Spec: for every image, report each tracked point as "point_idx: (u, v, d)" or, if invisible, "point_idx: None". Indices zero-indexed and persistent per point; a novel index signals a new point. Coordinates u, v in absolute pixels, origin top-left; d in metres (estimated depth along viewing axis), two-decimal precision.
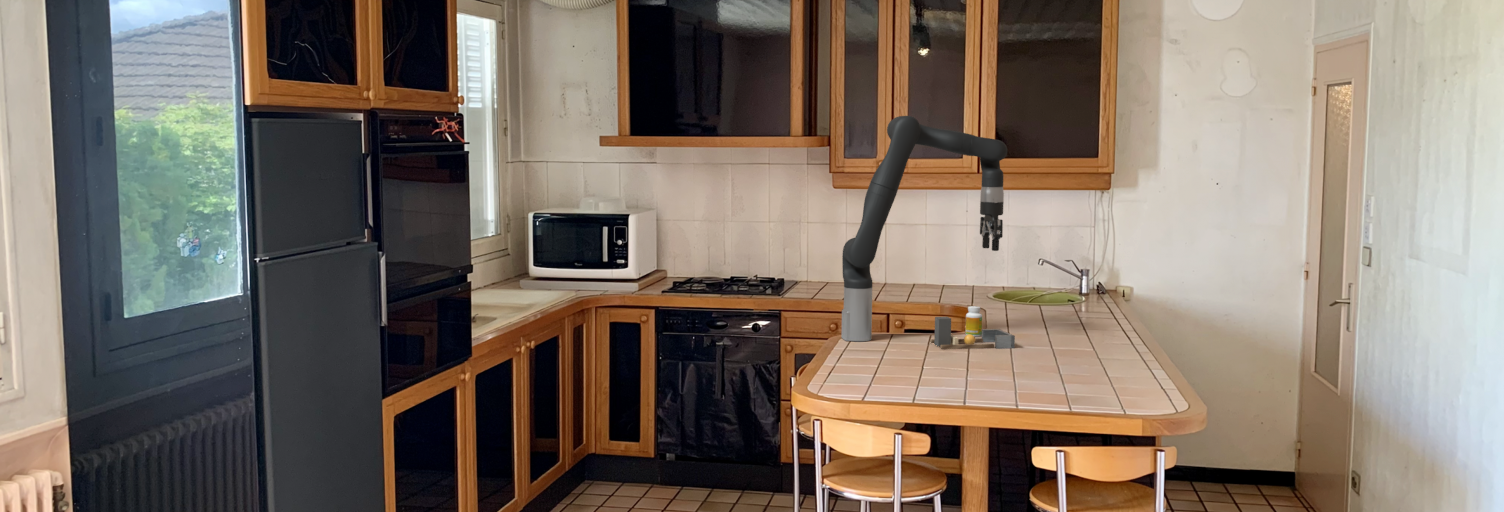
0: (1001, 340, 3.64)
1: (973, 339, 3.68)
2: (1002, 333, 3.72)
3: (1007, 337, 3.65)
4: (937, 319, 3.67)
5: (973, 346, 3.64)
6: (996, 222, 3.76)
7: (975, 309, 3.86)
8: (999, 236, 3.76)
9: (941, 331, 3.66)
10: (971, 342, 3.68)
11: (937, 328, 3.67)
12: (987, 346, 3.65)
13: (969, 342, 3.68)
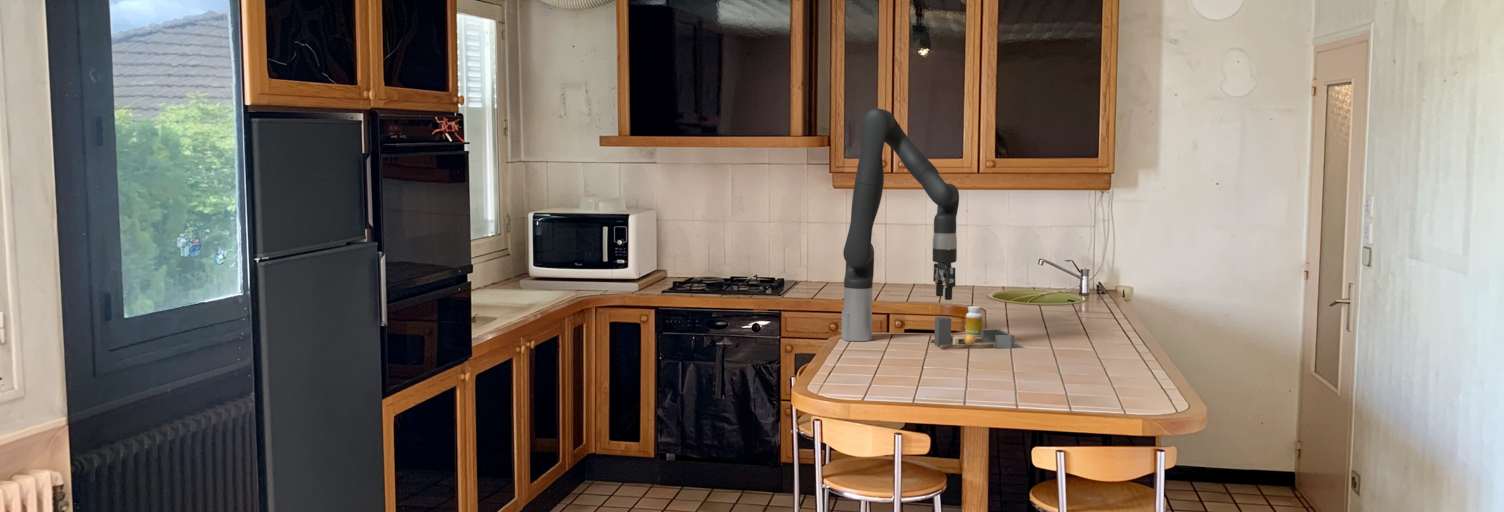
0: (1001, 340, 3.64)
1: (973, 339, 3.68)
2: (1002, 333, 3.72)
3: (1007, 337, 3.65)
4: (937, 319, 3.67)
5: (973, 346, 3.64)
6: (948, 270, 3.59)
7: (975, 309, 3.86)
8: (952, 285, 3.59)
9: (941, 331, 3.66)
10: (971, 342, 3.68)
11: (937, 328, 3.67)
12: (987, 346, 3.65)
13: (969, 342, 3.68)
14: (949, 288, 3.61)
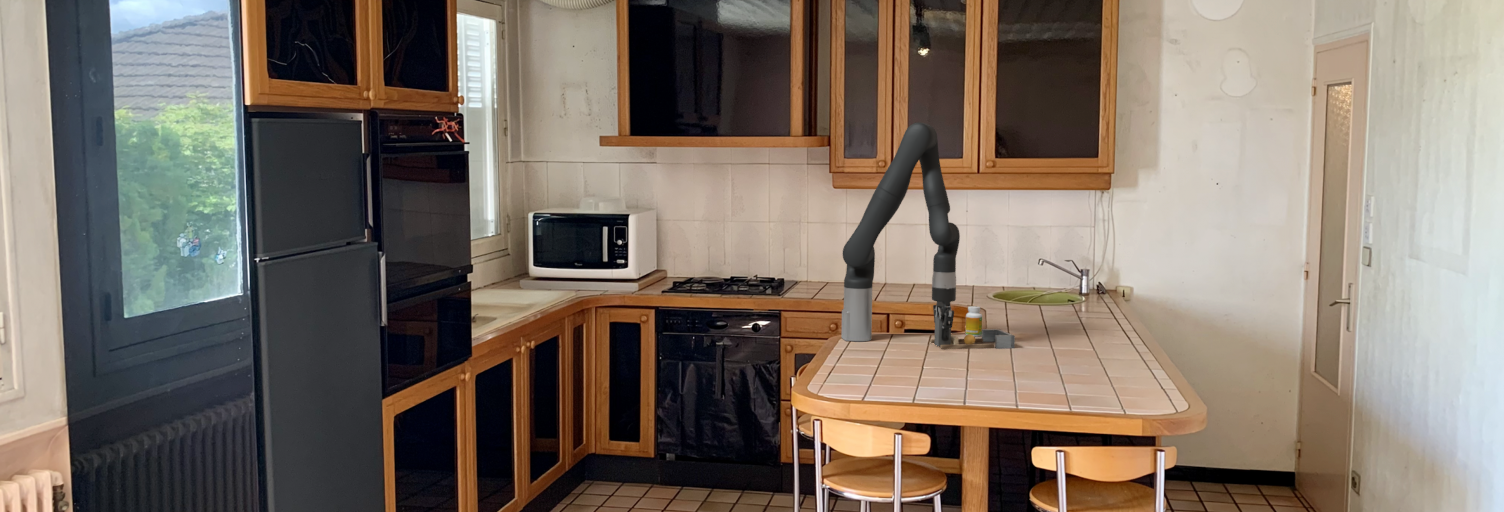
0: (1001, 340, 3.64)
1: (973, 339, 3.68)
2: (1002, 333, 3.72)
3: (1007, 337, 3.65)
4: (937, 319, 3.67)
5: (973, 346, 3.64)
6: (947, 314, 3.61)
7: (975, 309, 3.86)
8: (949, 326, 3.63)
9: (941, 331, 3.66)
10: (971, 342, 3.68)
11: (937, 328, 3.67)
12: (987, 346, 3.65)
13: (969, 342, 3.68)
14: (945, 330, 3.65)
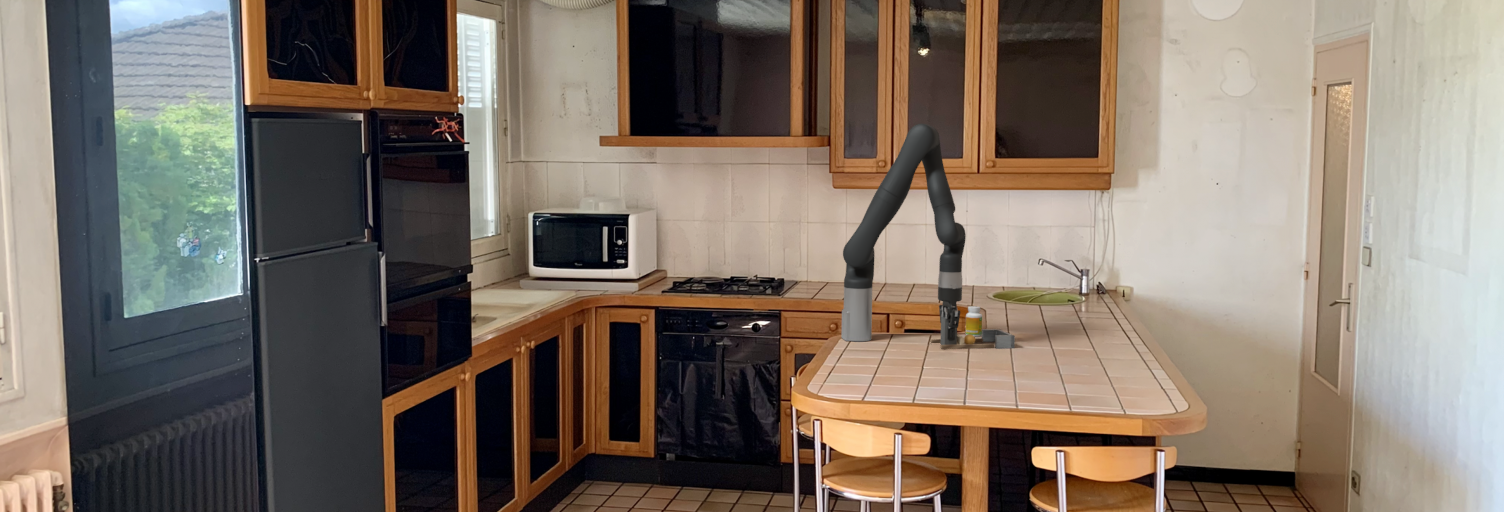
0: (1001, 340, 3.64)
1: (973, 339, 3.68)
2: (1002, 333, 3.72)
3: (1007, 337, 3.65)
4: (943, 319, 3.67)
5: (973, 346, 3.64)
6: (953, 314, 3.61)
7: (975, 309, 3.86)
8: (955, 326, 3.63)
9: (947, 331, 3.66)
10: (971, 342, 3.68)
11: (943, 328, 3.67)
12: (987, 346, 3.65)
13: (969, 342, 3.68)
14: (952, 329, 3.65)
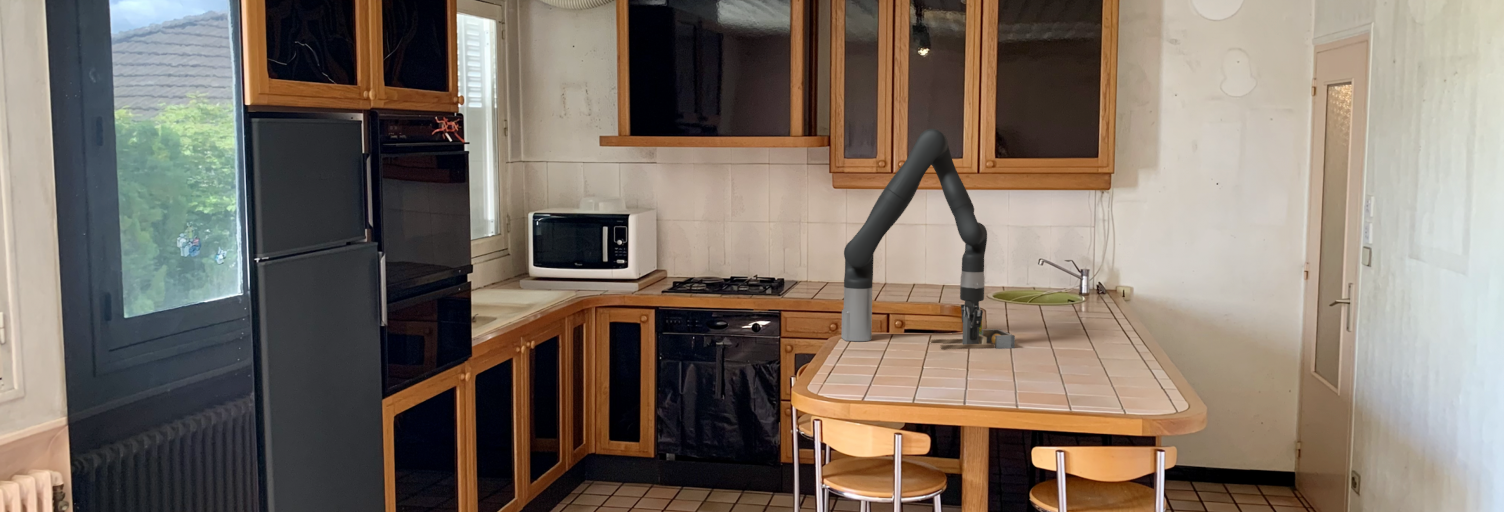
0: (1001, 340, 3.64)
1: None
2: (1002, 333, 3.72)
3: (1007, 337, 3.65)
4: (965, 319, 3.68)
5: (973, 346, 3.64)
6: (976, 313, 3.62)
7: None
8: (977, 326, 3.64)
9: None
10: None
11: (965, 327, 3.68)
12: (987, 346, 3.65)
13: None
14: (974, 329, 3.66)
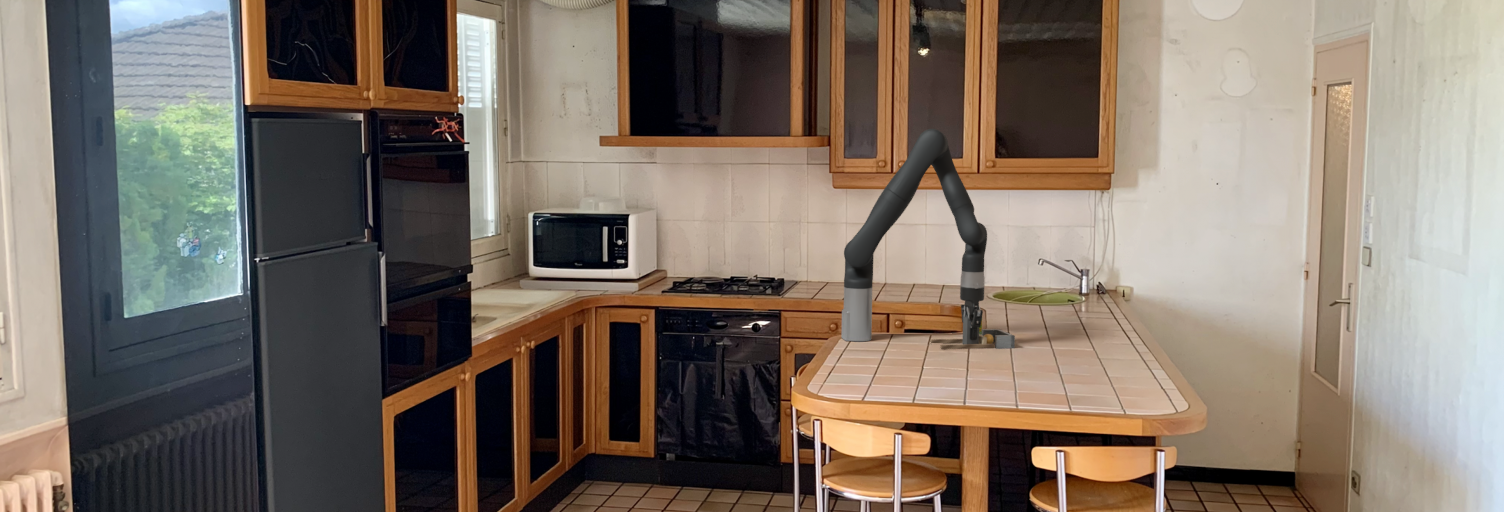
0: (1001, 340, 3.64)
1: (987, 341, 3.69)
2: (1002, 333, 3.72)
3: (1007, 337, 3.65)
4: (965, 319, 3.68)
5: (973, 346, 3.64)
6: (976, 313, 3.62)
7: None
8: (977, 325, 3.64)
9: None
10: (990, 338, 3.69)
11: (965, 327, 3.68)
12: (987, 346, 3.65)
13: (992, 338, 3.69)
14: (974, 329, 3.66)
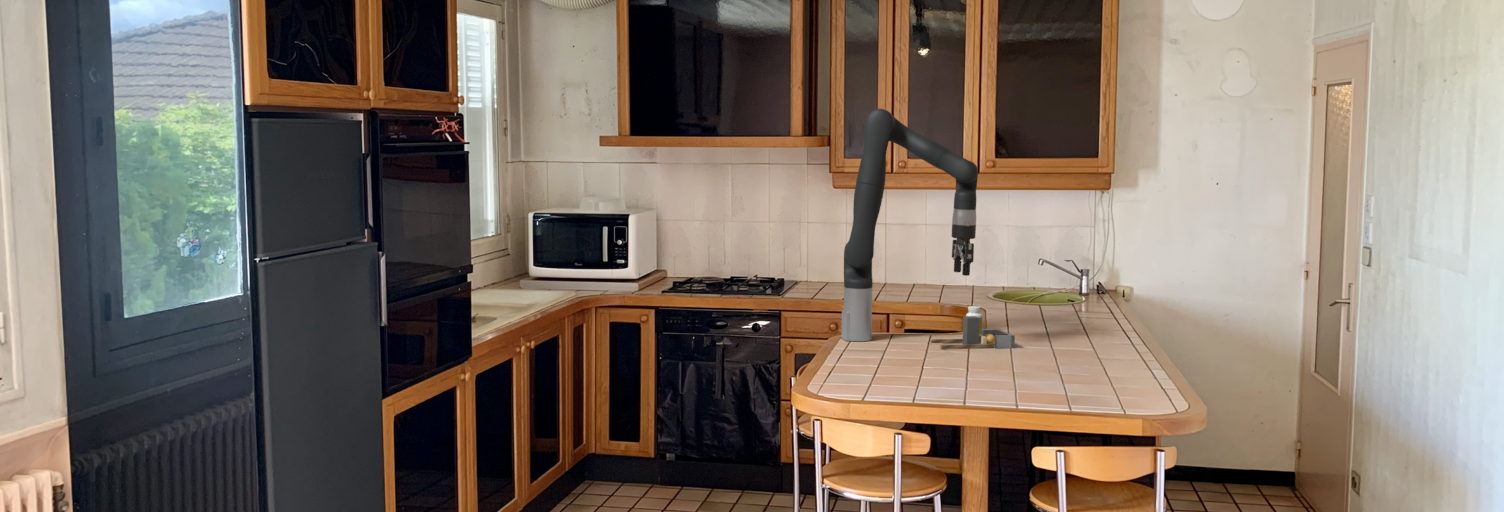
0: (1001, 340, 3.64)
1: (988, 340, 3.69)
2: (1002, 333, 3.72)
3: (1007, 337, 3.65)
4: (965, 319, 3.68)
5: (973, 346, 3.64)
6: (967, 246, 3.63)
7: (975, 309, 3.86)
8: (970, 260, 3.64)
9: (970, 331, 3.67)
10: (991, 338, 3.69)
11: (965, 327, 3.68)
12: (987, 346, 3.65)
13: (993, 339, 3.69)
14: (967, 264, 3.65)
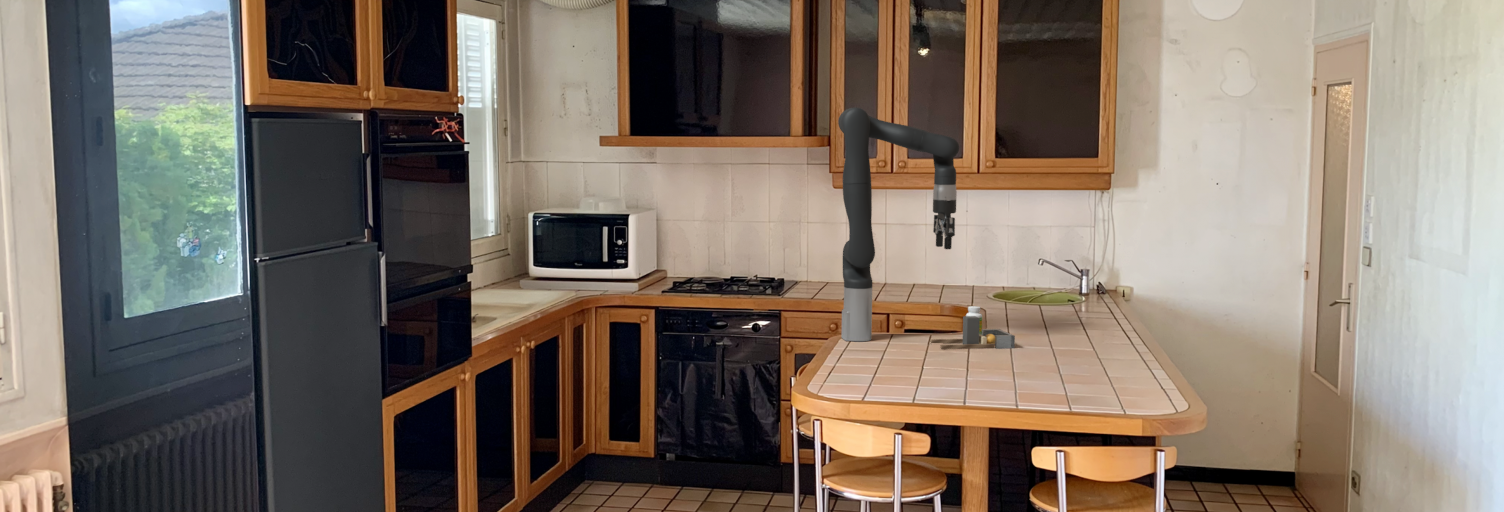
0: (1001, 340, 3.64)
1: (989, 339, 3.69)
2: (1002, 333, 3.72)
3: (1007, 337, 3.65)
4: (965, 319, 3.68)
5: (973, 346, 3.64)
6: (948, 220, 3.71)
7: (975, 309, 3.86)
8: (951, 234, 3.71)
9: (970, 331, 3.67)
10: (993, 338, 3.69)
11: (965, 327, 3.68)
12: (987, 346, 3.65)
13: (994, 339, 3.69)
14: (948, 238, 3.73)
